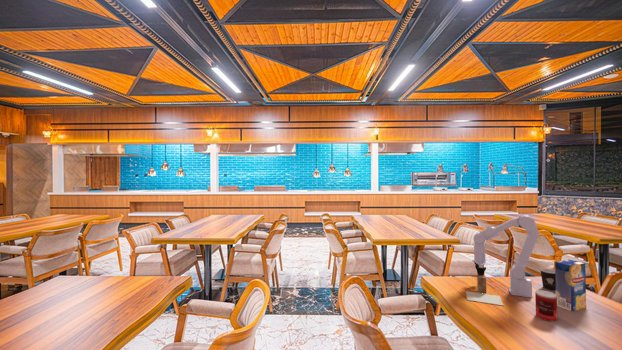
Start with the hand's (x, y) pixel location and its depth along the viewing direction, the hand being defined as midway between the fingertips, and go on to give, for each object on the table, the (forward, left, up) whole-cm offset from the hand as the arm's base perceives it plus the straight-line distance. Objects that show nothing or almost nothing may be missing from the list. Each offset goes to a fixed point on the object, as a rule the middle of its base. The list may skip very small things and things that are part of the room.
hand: (480, 276), depth 167 cm
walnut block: (0, +9, -6) cm, 11 cm away
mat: (0, +18, -6) cm, 19 cm away
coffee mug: (-37, -12, -6) cm, 39 cm away
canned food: (-24, +29, -6) cm, 38 cm away
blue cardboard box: (-38, +11, -6) cm, 40 cm away
